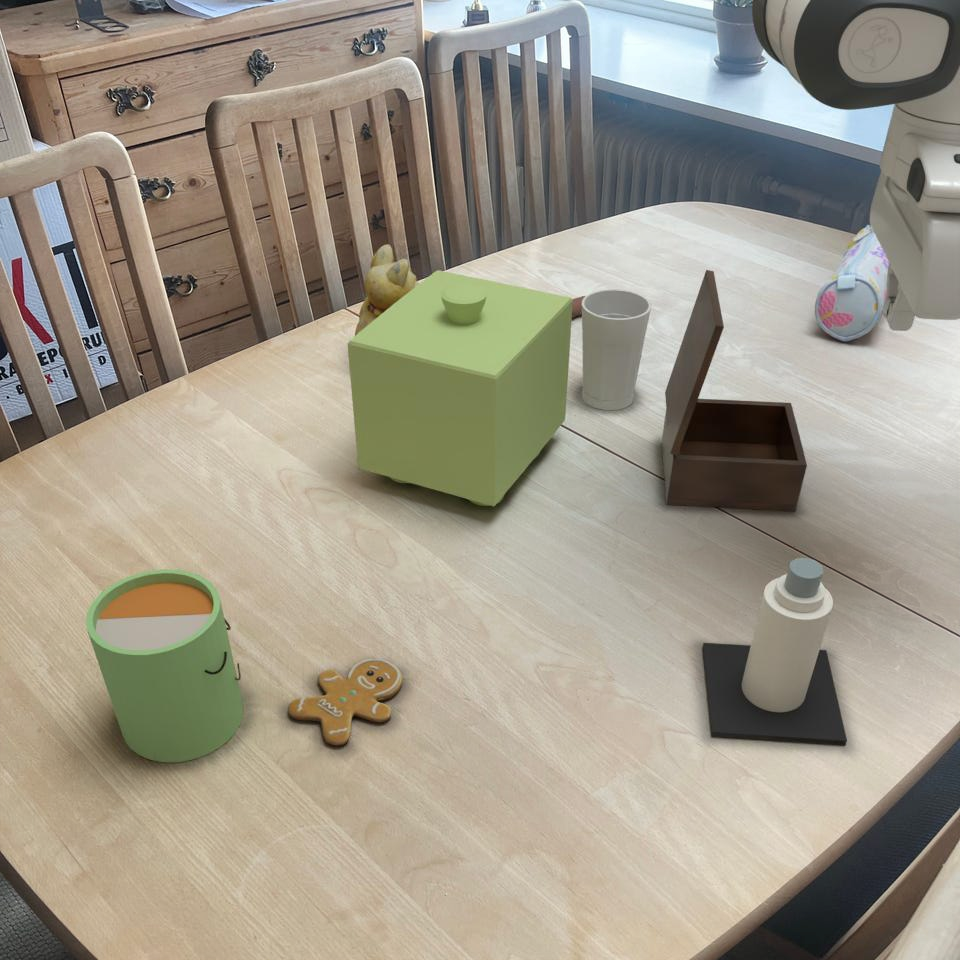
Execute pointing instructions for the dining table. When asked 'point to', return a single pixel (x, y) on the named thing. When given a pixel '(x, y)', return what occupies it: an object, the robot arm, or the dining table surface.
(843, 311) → the pencil case
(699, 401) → the chest
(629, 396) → the cup
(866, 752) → the dining table surface
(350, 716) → the cookie
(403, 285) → the decorative figurine
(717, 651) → the mat
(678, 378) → the chest lid
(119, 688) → the mug
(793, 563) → the bottle
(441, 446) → the container
